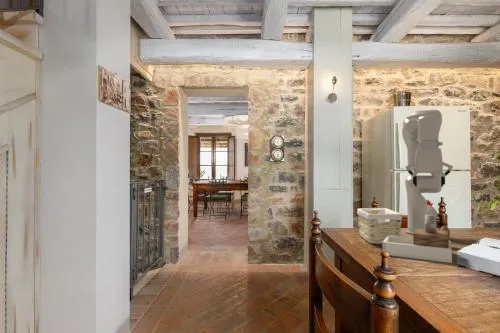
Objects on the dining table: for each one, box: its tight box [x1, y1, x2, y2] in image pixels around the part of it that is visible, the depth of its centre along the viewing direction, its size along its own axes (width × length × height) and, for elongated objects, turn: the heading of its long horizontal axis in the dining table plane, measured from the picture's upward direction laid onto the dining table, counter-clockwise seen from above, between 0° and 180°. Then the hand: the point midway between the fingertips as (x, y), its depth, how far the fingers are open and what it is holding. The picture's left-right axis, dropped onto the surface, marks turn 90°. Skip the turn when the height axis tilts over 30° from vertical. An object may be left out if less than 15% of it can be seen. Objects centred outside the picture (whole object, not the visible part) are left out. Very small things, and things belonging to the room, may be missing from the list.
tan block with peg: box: [412, 215, 450, 248], centre depth 131 cm, size 12×12×15 cm
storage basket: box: [356, 207, 403, 245], centre depth 161 cm, size 24×16×15 cm
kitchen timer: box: [426, 199, 439, 217], centre depth 206 cm, size 14×14×15 cm
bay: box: [381, 235, 453, 264], centre depth 133 cm, size 25×17×5 cm
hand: (428, 186), depth 133 cm, fingers open, 9 cm apart
